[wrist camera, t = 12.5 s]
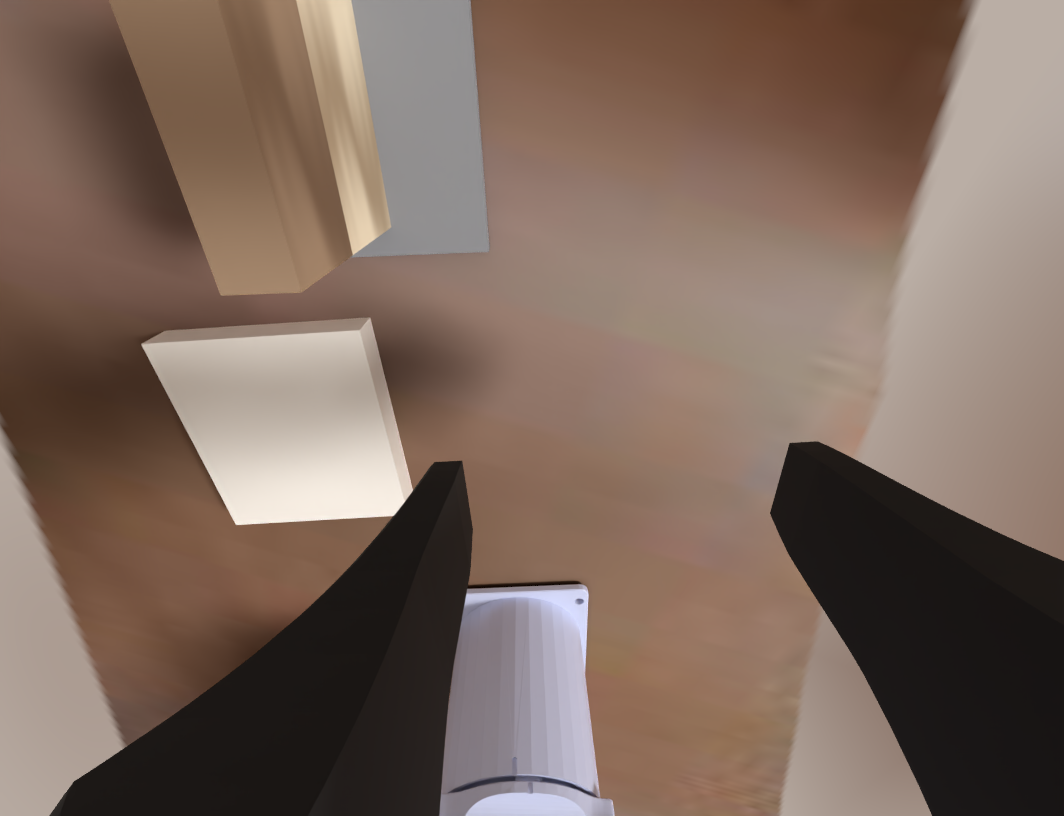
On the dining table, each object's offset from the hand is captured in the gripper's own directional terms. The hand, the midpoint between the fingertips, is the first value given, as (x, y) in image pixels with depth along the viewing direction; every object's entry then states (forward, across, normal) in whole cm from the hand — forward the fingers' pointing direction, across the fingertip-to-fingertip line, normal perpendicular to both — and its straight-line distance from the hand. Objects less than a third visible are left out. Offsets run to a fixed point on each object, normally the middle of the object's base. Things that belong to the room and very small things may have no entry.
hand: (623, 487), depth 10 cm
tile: (+9, +8, +3) cm, 12 cm away
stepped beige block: (+9, +7, -8) cm, 13 cm away
